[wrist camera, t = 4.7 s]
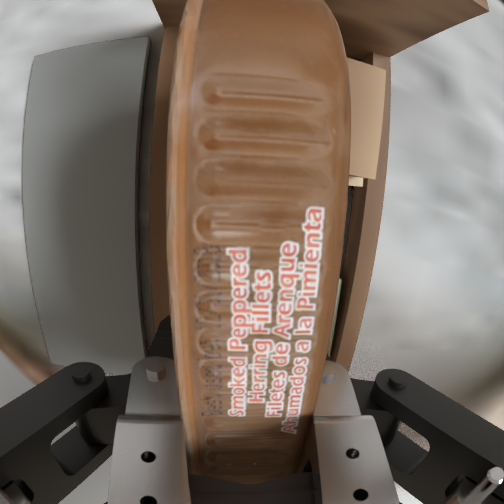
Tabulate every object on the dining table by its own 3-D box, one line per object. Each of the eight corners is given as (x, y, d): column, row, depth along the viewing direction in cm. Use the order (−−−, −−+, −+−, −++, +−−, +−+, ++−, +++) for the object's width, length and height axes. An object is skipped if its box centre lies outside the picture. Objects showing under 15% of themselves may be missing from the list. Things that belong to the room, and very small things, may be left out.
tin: (213, 48, 10) (165, -94, 2) (292, 51, 10) (352, -87, 2) (207, 377, 15) (183, 527, 6) (270, 380, 15) (283, 532, 6)
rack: (376, 46, 13) (482, -14, 5) (332, 386, 19) (380, 490, 11) (172, 20, 12) (132, -90, 3) (166, 387, 18) (145, 506, 9)
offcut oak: (368, 78, 12) (386, 70, 11) (357, 176, 14) (375, 179, 12) (321, 65, 12) (335, 54, 10) (309, 168, 13) (322, 169, 12)
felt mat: (150, 40, 12) (148, 36, 12) (149, 372, 18) (147, 378, 17) (39, 58, 12) (34, 56, 11) (54, 358, 17) (51, 363, 16)
